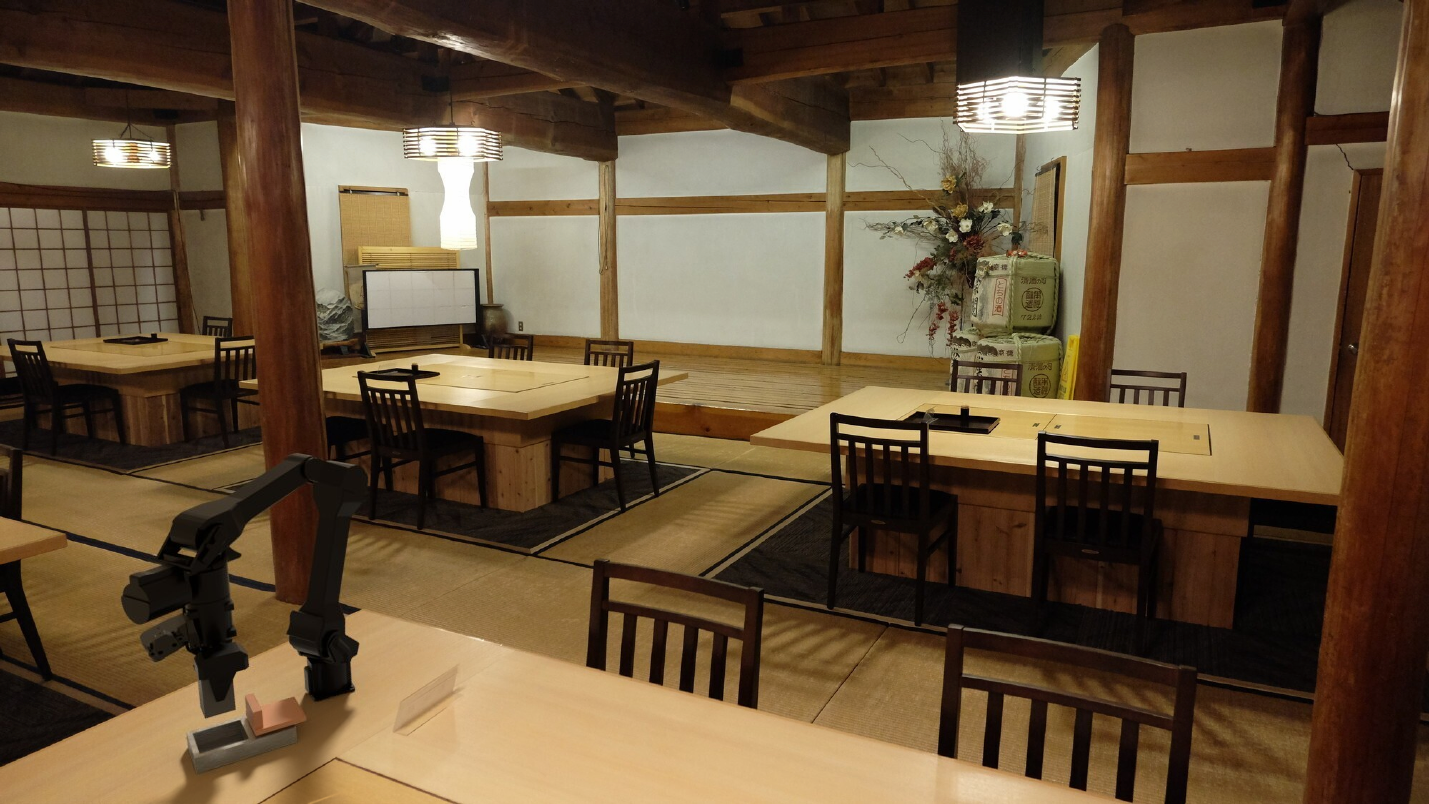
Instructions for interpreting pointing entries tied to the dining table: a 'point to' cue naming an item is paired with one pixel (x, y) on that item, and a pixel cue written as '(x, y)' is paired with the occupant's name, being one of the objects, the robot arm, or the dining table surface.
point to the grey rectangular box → (233, 743)
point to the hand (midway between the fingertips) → (217, 694)
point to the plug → (209, 702)
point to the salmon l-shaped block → (272, 714)
